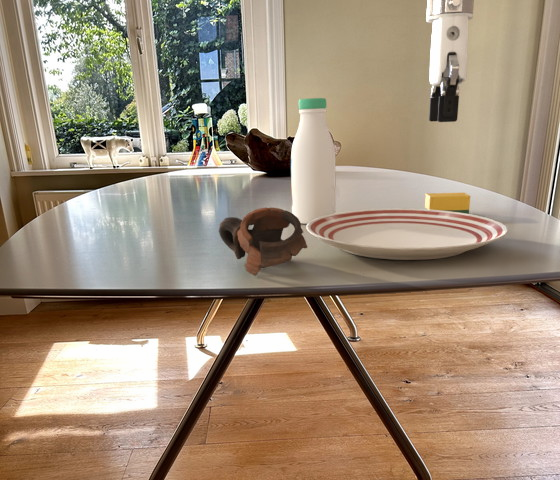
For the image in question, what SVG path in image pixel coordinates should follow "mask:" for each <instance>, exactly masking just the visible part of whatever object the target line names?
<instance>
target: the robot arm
mask: <svg viewBox="0 0 560 480" xmlns="http://www.w3.org/2000/svg"><path fill="white" fill-rule="evenodd" d="M474 6H475V0H427V2H426V17H425V19H426V20H425V22H426V23H429V24H432V27H431V29H432V30H431V31H432V32H431V42H430V55H429V84H430V85H431V90H430V98H429V111H428V112H429V113H428V114H429V115H428V121H429V122H438V123H454V122H457V121H458V116H459V115H458V114H459V104H460V103H459V102H460V85H462V84H464V83H465V82H466V80H467V75H468V74H467V73H468V56H469V55H468V54H469V53H468V51H469V21H470V20H473V17H474Z"/></svg>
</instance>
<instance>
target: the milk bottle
mask: <svg viewBox="0 0 560 480" xmlns="http://www.w3.org/2000/svg"><path fill="white" fill-rule="evenodd" d="M298 109H299V110H298V114H299V115H300V116H299V123H298V128H297V131H296V133H295V136H294V139H293V142H292V146H291V154H290V179H291V180H290V181H291V182H290V183H291V185H290V186H291V213H292V214H294V215H295V216H296V217H297V218H298V219H299V221H300V224H304V225H307V224H308V223H309V222H310V221H312V220H314V219H316V218H319V217H322V216H326V215H330V214H335V213H336V209H337V207H336V205H337V204H336V201H337V198H336V193H337V192H336V191H337V190H336V188H337V185H336V176H337V175H336V174H337V173H336V171H337V170H336V149H335V143H334V141H333V137H332V136H331V132H330V131H329V128H328V125H327V121H326V113H327V99H326V98H325V97H317V98H316V97H313V98H311V97H309V98H300V99H298Z"/></svg>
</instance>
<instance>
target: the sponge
mask: <svg viewBox="0 0 560 480" xmlns="http://www.w3.org/2000/svg"><path fill="white" fill-rule="evenodd" d="M470 207H471V195H469V194H468V193H466V192H433V193H432V192H431V193H429V192H428V193H425V199H424V209H428V210H441V211H451V212H459V213H466V214H470Z"/></svg>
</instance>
